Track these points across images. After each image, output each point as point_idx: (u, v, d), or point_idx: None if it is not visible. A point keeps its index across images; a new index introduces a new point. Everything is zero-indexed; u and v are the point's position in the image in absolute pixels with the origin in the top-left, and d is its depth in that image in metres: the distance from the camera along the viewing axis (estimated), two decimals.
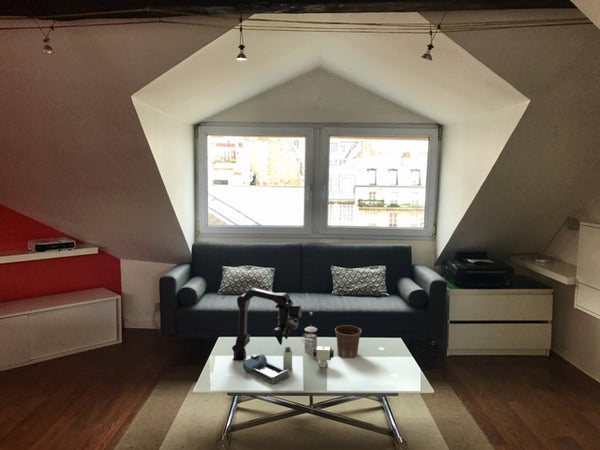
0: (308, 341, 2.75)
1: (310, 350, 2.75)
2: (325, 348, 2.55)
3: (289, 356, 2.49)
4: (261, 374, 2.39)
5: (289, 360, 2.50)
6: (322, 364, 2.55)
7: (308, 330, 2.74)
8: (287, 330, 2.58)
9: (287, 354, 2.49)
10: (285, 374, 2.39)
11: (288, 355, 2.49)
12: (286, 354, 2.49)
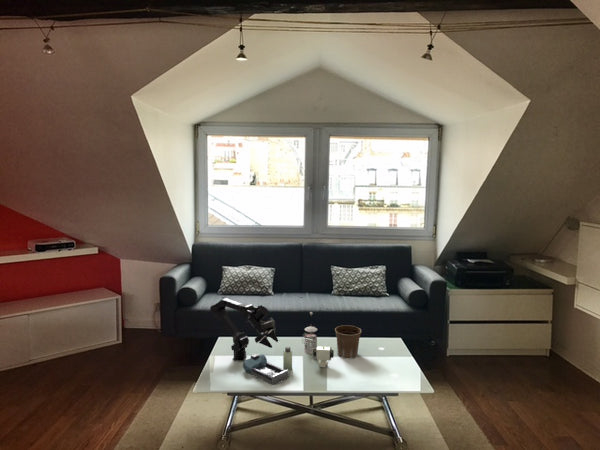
0: (308, 341, 2.75)
1: (310, 350, 2.75)
2: (325, 348, 2.55)
3: (289, 356, 2.49)
4: (261, 374, 2.39)
5: (289, 360, 2.50)
6: (322, 364, 2.55)
7: (308, 330, 2.74)
8: (273, 334, 2.58)
9: (287, 354, 2.49)
10: (285, 374, 2.39)
11: (288, 355, 2.49)
12: (286, 354, 2.49)
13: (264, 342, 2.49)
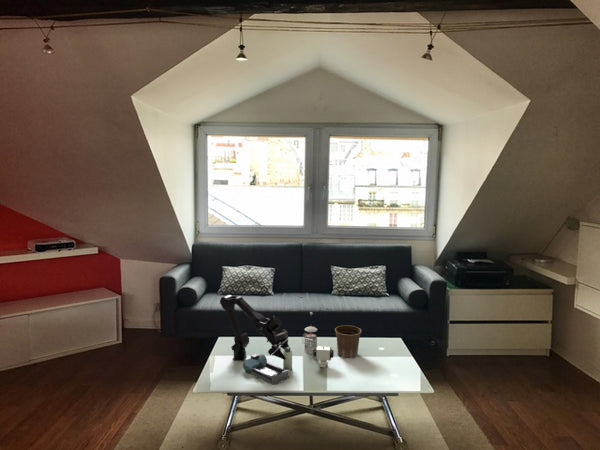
0: (308, 341, 2.75)
1: (310, 350, 2.75)
2: (325, 348, 2.55)
3: (289, 356, 2.49)
4: (261, 374, 2.39)
5: (289, 360, 2.50)
6: (322, 364, 2.55)
7: (308, 330, 2.74)
8: (286, 345, 2.57)
9: (287, 354, 2.49)
10: (285, 374, 2.39)
11: (288, 355, 2.49)
12: (286, 354, 2.49)
13: (277, 354, 2.47)
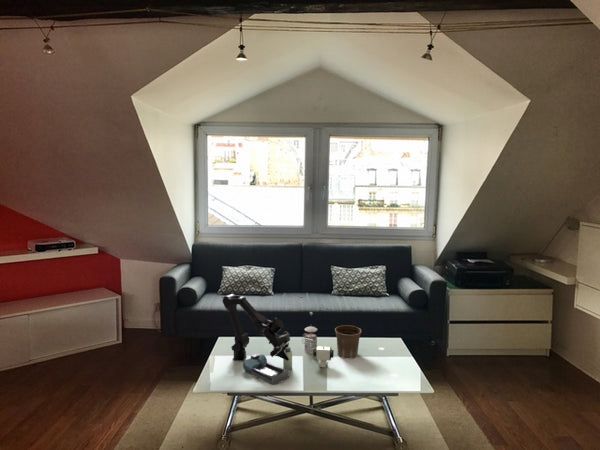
0: (308, 341, 2.75)
1: (310, 350, 2.75)
2: (325, 348, 2.55)
3: (289, 356, 2.49)
4: (261, 374, 2.39)
5: (289, 360, 2.50)
6: (322, 364, 2.55)
7: (308, 330, 2.74)
8: None
9: (287, 354, 2.49)
10: (285, 374, 2.39)
11: (288, 355, 2.49)
12: (286, 354, 2.49)
13: (281, 355, 2.48)
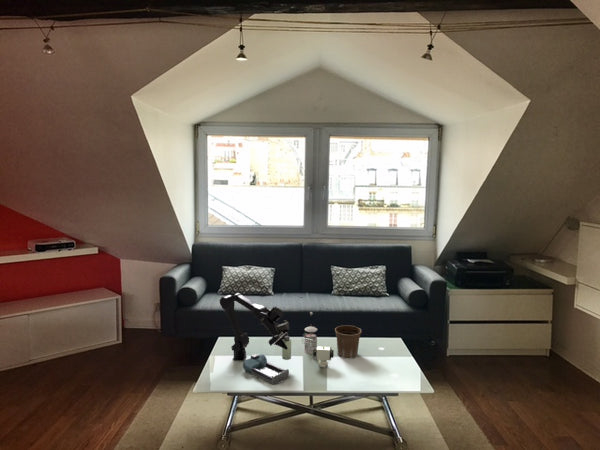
0: (308, 341, 2.75)
1: (310, 350, 2.75)
2: (325, 348, 2.55)
3: (288, 345, 2.48)
4: (261, 374, 2.39)
5: (288, 349, 2.48)
6: (322, 364, 2.55)
7: (308, 330, 2.74)
8: None
9: (286, 343, 2.47)
10: (285, 374, 2.39)
11: (287, 344, 2.47)
12: (285, 343, 2.47)
13: (279, 343, 2.47)
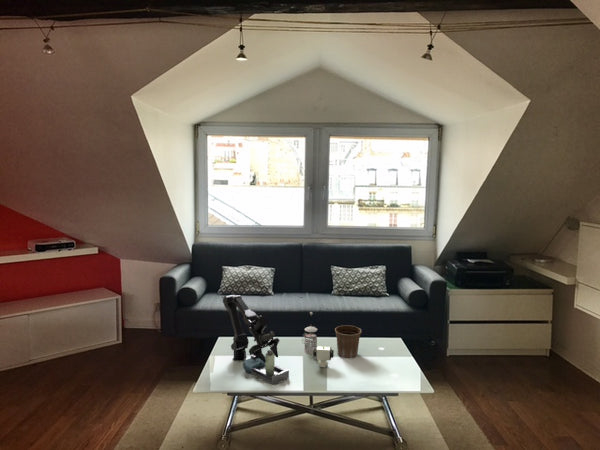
0: (308, 341, 2.75)
1: (310, 350, 2.75)
2: (325, 348, 2.55)
3: (269, 360, 2.39)
4: (261, 374, 2.39)
5: (269, 364, 2.40)
6: (322, 364, 2.55)
7: (308, 330, 2.74)
8: (274, 348, 2.46)
9: (267, 357, 2.39)
10: (285, 374, 2.39)
11: (268, 358, 2.39)
12: (266, 357, 2.40)
13: (258, 355, 2.39)
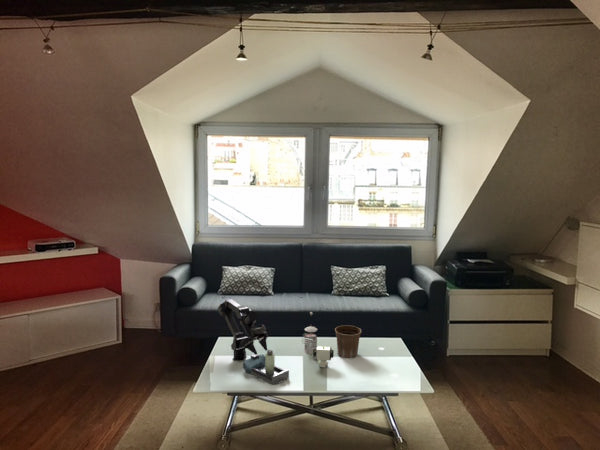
0: (308, 341, 2.75)
1: (310, 350, 2.75)
2: (325, 348, 2.55)
3: (269, 360, 2.39)
4: (261, 374, 2.39)
5: (269, 364, 2.40)
6: (322, 364, 2.55)
7: (308, 330, 2.74)
8: (263, 341, 2.54)
9: (267, 357, 2.39)
10: (285, 374, 2.39)
11: (268, 358, 2.39)
12: (266, 357, 2.40)
13: (250, 347, 2.46)
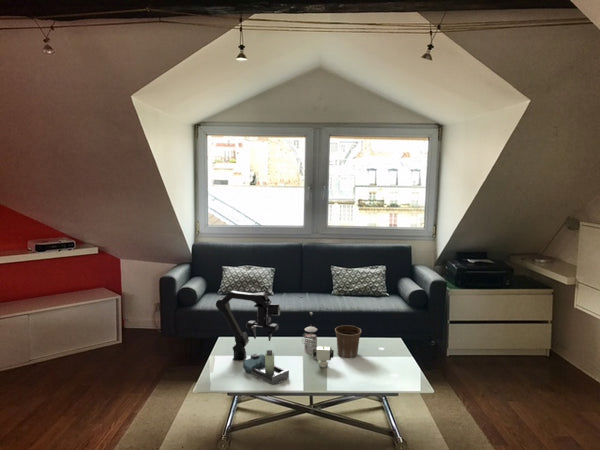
0: (308, 341, 2.75)
1: (310, 350, 2.75)
2: (325, 348, 2.55)
3: (269, 360, 2.39)
4: (261, 374, 2.39)
5: (269, 364, 2.40)
6: (322, 364, 2.55)
7: (308, 330, 2.74)
8: (255, 330, 2.63)
9: (267, 357, 2.39)
10: (285, 374, 2.39)
11: (268, 358, 2.39)
12: (266, 357, 2.40)
13: (271, 333, 2.58)
